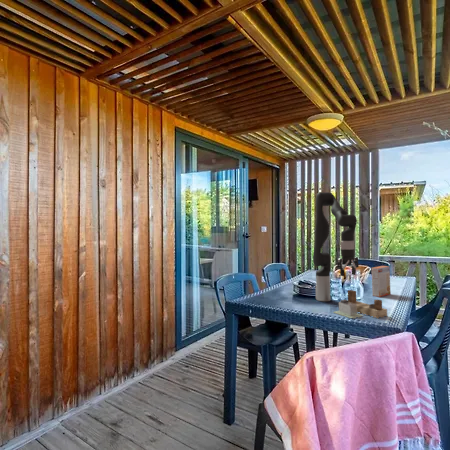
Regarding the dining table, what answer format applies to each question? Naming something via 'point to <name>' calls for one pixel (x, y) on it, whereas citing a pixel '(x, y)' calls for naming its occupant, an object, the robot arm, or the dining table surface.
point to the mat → (347, 315)
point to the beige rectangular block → (347, 308)
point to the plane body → (367, 306)
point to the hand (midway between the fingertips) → (348, 275)
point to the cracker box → (381, 281)
